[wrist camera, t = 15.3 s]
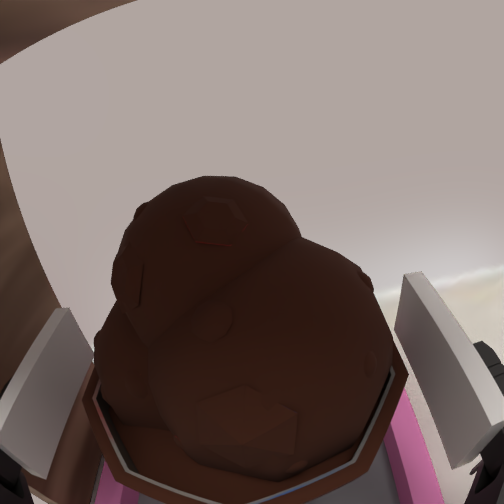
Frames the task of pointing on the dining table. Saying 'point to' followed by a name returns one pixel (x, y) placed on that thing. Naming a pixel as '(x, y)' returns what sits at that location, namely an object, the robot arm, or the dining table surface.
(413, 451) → the seat plate
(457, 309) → the dining table surface
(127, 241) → the ice cream bowl
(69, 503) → the display shelf
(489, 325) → the dining table surface
